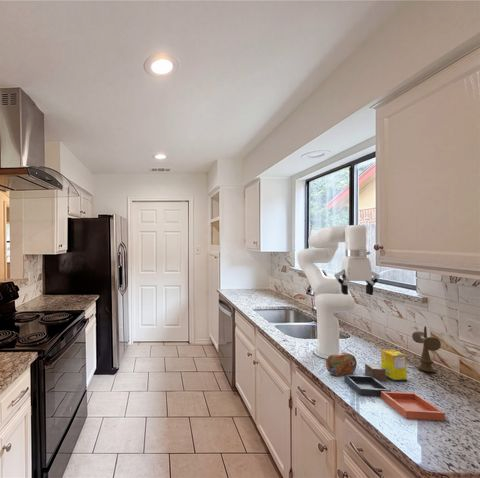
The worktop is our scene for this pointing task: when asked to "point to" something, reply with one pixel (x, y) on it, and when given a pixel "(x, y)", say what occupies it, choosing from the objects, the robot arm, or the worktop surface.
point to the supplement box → (394, 365)
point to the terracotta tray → (412, 406)
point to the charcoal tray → (365, 385)
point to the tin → (341, 364)
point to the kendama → (426, 349)
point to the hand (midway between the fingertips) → (357, 294)
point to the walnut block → (375, 371)
